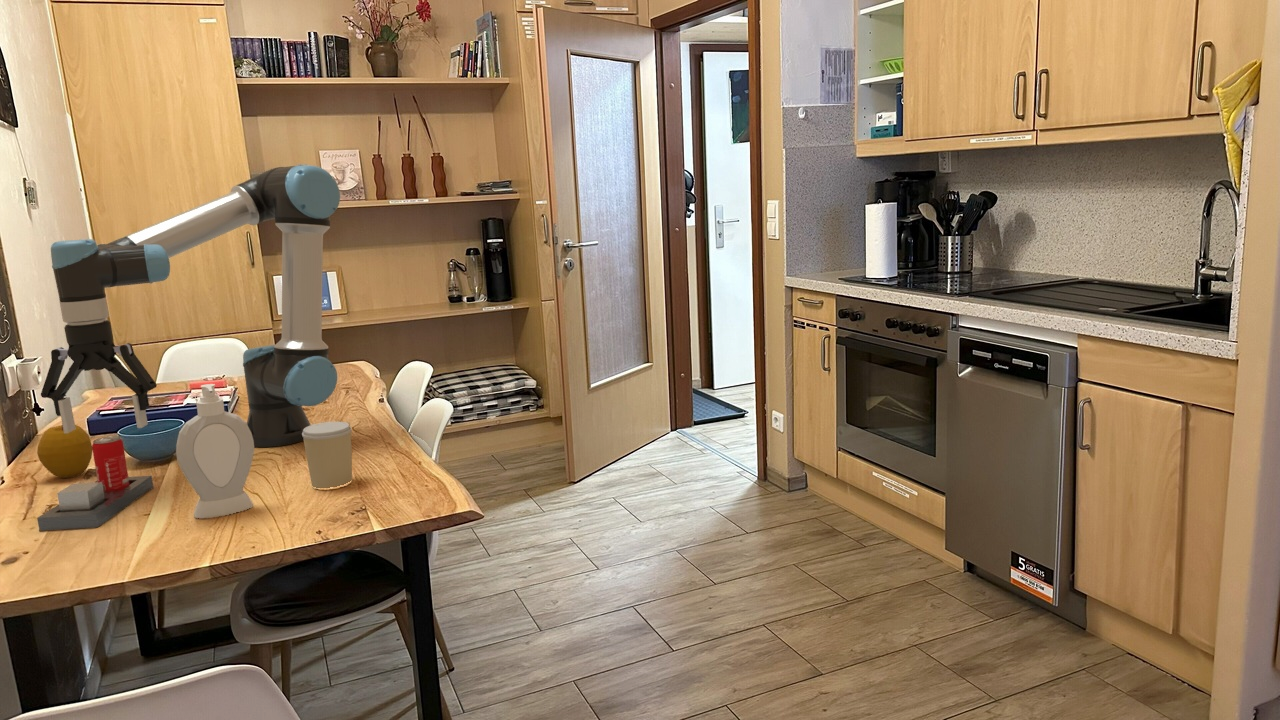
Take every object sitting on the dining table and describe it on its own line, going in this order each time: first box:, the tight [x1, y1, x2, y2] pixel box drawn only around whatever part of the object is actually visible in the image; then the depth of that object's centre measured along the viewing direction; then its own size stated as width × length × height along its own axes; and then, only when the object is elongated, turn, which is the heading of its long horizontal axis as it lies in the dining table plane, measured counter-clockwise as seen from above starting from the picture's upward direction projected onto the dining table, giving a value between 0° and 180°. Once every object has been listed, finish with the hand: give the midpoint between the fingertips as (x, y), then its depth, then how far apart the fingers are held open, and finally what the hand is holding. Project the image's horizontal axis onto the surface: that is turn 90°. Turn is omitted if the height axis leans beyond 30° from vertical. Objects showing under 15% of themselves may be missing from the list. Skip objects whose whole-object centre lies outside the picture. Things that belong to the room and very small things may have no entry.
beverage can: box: [92, 435, 129, 491], centre depth 171 cm, size 5×5×12 cm
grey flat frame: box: [36, 475, 154, 532], centre depth 166 cm, size 10×22×6 cm, turn 5°
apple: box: [36, 424, 93, 479], centre depth 186 cm, size 10×10×12 cm
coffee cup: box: [302, 421, 353, 488], centre depth 175 cm, size 9×9×12 cm
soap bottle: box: [175, 383, 255, 520], centre depth 159 cm, size 13×8×24 cm, turn 122°
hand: (106, 429), depth 170 cm, fingers open, 13 cm apart
